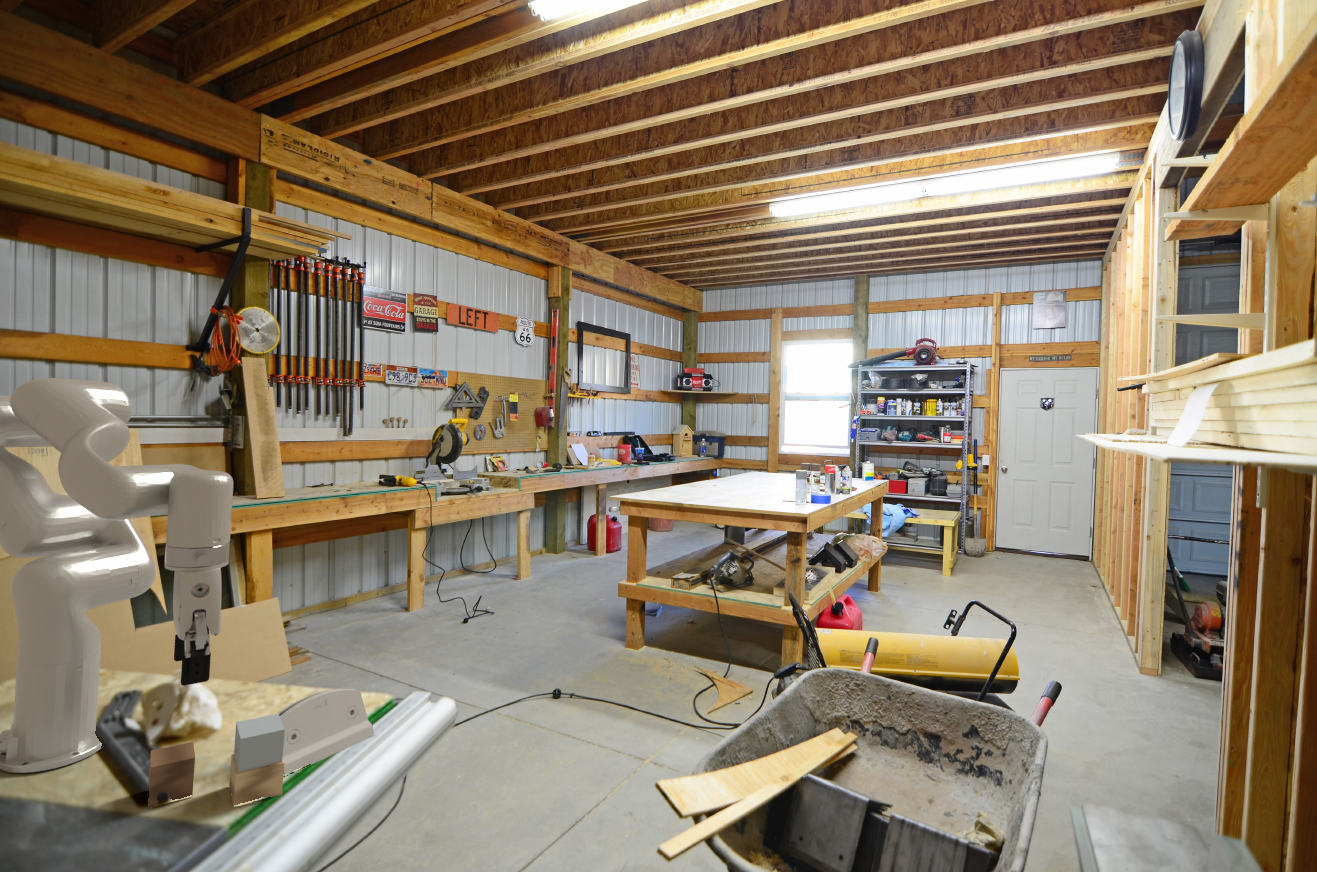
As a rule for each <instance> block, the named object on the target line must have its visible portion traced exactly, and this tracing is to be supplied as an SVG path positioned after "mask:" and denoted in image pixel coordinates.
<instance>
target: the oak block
mask: <svg viewBox="0 0 1317 872" xmlns="http://www.w3.org/2000/svg"><path fill="white" fill-rule="evenodd" d="M230 758H231V759H230V770H229V771H230V773H229V785H228V787H229V786H230V788H229V791H230V790H231V793H230V795H231V794H232V798H231V801H232V800H233V803H232V805H233V804H234V805H238V804H240V803H245V802H248V801H252V800H255V799H259V798H261V797H266V796H267V797H268V796H269V797H271V798H275V797H277V796H282V795H283V787H284V786H283V784H284V777H283V773H284V760H283V759H282V762H280V763H276V764H272V765H268V766H264V767H260V768H256V769H252V770H248V771H244V772H240V773H238V770H237V766H236V761H235V757H234V753H233V754H231V756H230ZM271 798H270V799H271Z"/></svg>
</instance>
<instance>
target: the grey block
mask: <svg viewBox="0 0 1317 872" xmlns="http://www.w3.org/2000/svg"><path fill="white" fill-rule="evenodd" d="M284 732H285V729H284V726H283V724H282V721H281V719H280V716H279V714H277V713H275V714H270V715H265V716H261V717H254V718H250V719H246V720H241V721H236V722H235V737H234V746H233V754H234V757H235V761H236V766H237V770H238V773H240V772H244V771H248V770H252V769H256V768H260V767H264V766H268V765H272V764H276V763H280V762H282V759H283V745H284Z"/></svg>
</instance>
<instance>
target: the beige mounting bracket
mask: <svg viewBox="0 0 1317 872" xmlns="http://www.w3.org/2000/svg"><path fill="white" fill-rule="evenodd" d="M276 714H279V716H280V719H281V721H282V724H283V726H284V729H285V732H284V745H283V760H284V773H283V774H284V775H285V774H287V773H290V772H292V771H294V770H296V769H299V768H301V767H303V766H306V765H309V764H311V765H310V766H312V765H313V764H316V763H317V762H320V761H323V760H325V759H327V758H329V757H331V756H334V755H335V754H337V753H340V752H341V751H344V750H345V749H348V748H350V747H352V746H355V745H357V744H359V743H360V742H361V743H362V742H363V741H366V740H368V739H369V738H372V737H374V736H375V732H374V726H373V724H372V722H370V721H369V719H368V718H369V717H368V714H367V711H366V707H365V704H364V700H363V697H362V693H361V691H360V690H359V689H356V688H355V689H354V688H339V689H329V690H325V691H321V692H317V693H314V694H311V695H308V696H306V697H304V698H302V699H299V700H297V701H295V702H293V703H291V704H290V705H288V706H286V707H285V708H283V709H282V710H280V711H279V712H277V713H276Z"/></svg>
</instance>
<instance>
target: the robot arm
mask: <svg viewBox="0 0 1317 872" xmlns="http://www.w3.org/2000/svg"><path fill="white" fill-rule="evenodd" d="M132 413H133V404H132V401H131V399H130V397H129V395H128V394H127V393H126V391H125V390H123V389H122V388H121V387H119V386H118V385H117V384H114V383H112V382H108V381H107V382H106V381H103V380H90V379H89V380H88V379H76V378H75V379H73V378H61V377H41V378H40V377H39V378H35V379H32V380H31V379H30V380H28V381H26V382H24V383H21V384H20V385H19V386H17V387H16V388H14V390H13V391H12V393H11V394H10V395H2V394H1V395H0V548H1V549H2V550H3V552H5V553H6V554H7V555H9V556H10V557H13V558H17V559H29V558H36V559H34V560H32V561H29V562H27V563H25V564H24V565H23V566H21V568H19V570H17V571H16V573H15V574H14V576H13V579H12V582H11V596H12V600H13V601H12V602H13V605H14V611H15V615H16V625H17V651H16V676H15V691H14V706H13V707H14V708H13V722H12V724H11V726H10V728H9V729H6V730H2V731H1V733H0V770H1V771H3V772H6V773H15V774H17V773H18V774H25V773H38V772H44V771H49V770H53V769H58V768H61V767H65V766H68V765H72V764H74V763H77V762H79V761H81V760H84V759H86V758H87V757H90V756H92V755H93V754H95V753H97V752H98V751H99V750H101V749H102V748H101V746H102V743H101V742H100V741H99V739H98V738H97V736H96V734H95V731H96V725H97V713H98V712H97V711H98V700H99V697H98V696H99V682H100V669H101V668H100V667H101V655H102V654H101V650H102V647H101V646H102V635H101V631H100V630H99V628H98V627H97V625H96V624H95V623H94V622H93V621H92V620H91V619H90V618H89V617H88V616H87V611H89V610H91V609H95V608H97V607H101V606H105V605H106V606H107V605H110V604H114V603H117V602H118V603H119V602H122V601H126V600H129V599H132V598H136V597H138V596H141V595H143V594H144V593H145V592H147V591H148V590H149V589H150V588H151V587H152V586H153V584H154V581H155V580H156V565H155V562H154V559H153V556H152V555H151V552H150V551H149V549H148V547H147V546H146V542H144V540H143V539H142V537H141V535H140V534H139V532H138V531H137V529H136V527H135V526H134V523H133V522H132V520H131V519H133V520H134V519H139V518H146V517H147V518H148V517H155V516H167V520H166V521H167V522H166V523H167V524H166V539H165V553H164V554H165V555H164V569H166V570H169V571H172V572H173V571H174V574H173V575H174V577H173V594H172V595H173V596H172V614H173V615H172V616H173V624H174V628H175V629H174V630H175V631H176V634H174V635H175V636H174V652H173V660H174V661H175V662H181V670H180V671H181V673H180V684H181V686H184V687H185V686H189V685H195V684H201V683H205V682H208V681H209V680H210V674H211V673H210V672H211V671H210V670H211V655H212V653H211V646H210V645H211V644H210V642H211V641H210V634H211V635H212V636H213V635H214V636H216V637H217V636H218V635H220V633H221V632H222V629H221V628H222V627H221V625H222V592H223V591H222V586H223V585H222V570H221V569H222V568H223V567H226V566H227V565H229V564H230V563H229V561H230V559H229V558H230V544H231V542H230V541H231V530H232V512H233V497H234V479H233V477H232V476H231V475H230V474H229V473H228V472H226V471H221V470H220V471H219V470H213V469H212V470H211V469H210V470H209V469H202V468H198V467H197V466H195V465H190V464H184V463H169V464H167V463H166V464H165V463H164V464H141V465H123V466H116V465H113V464H111V463H110V462H111V461H112V460H115V459H116V458H117V457H118V456H120V455H121V454H122V453H123V452H124V450H125V449H126V448H127V446H128V444H129V442H130V440H131V432H130V428H129V426H128V425H127V424H128V423H129V421H130V419H131V417H132ZM43 447H44V448H45V447H51V448H52V447H53V448H54V449H55V450H57V451H58V452H59V453H60V456H59V458H58V464H57V465H58V466H57V470H58V476H59V477H58V478H59V480H60V485H61V486H62V488H63V489H64V491H65V493H66V494H59V493H56V492H55V491H54V490H53V489H52V488H51V486H50V485H49V484H48V481H47V480H46V478H45V476H44V474H43V473H42V472H41V471H40V470H38V468H36V466H34V465H33V464H32V463H30V462H28V461H27V460H26V459H24V458H23V457H20V456H18V455H16V454H14V453H12V452H10V451H8V450H7V449H6V448H43ZM38 557H39V558H38Z"/></svg>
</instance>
